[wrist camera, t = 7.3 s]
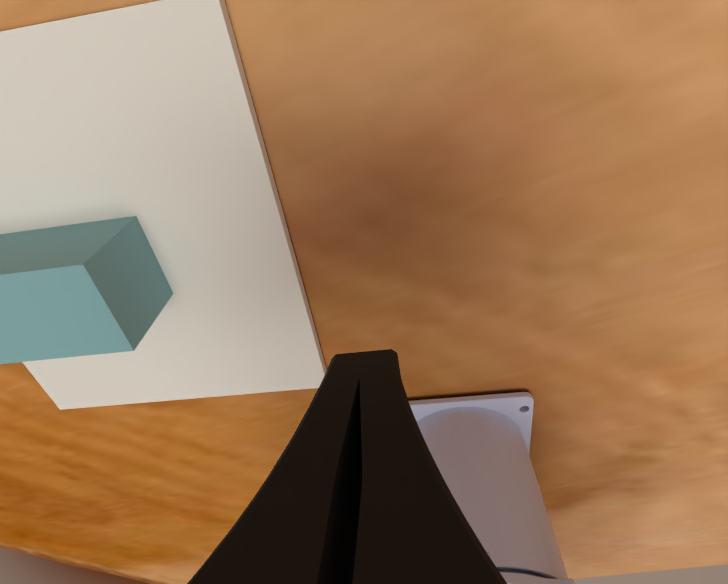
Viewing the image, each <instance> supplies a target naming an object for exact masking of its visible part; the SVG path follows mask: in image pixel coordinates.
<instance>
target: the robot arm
mask: <svg viewBox="0 0 728 584" xmlns="http://www.w3.org/2000/svg"><path fill="white" fill-rule="evenodd" d="M522 406H524V407H522ZM533 407H534V400H533V397H532V395H531V394H530V393H528V392H516V393H504V394H491V395H478V396H466V397H453V398H440V399H428V400H415V401H408V399H407V396H406V393H405V390H404V386H403V383H402V380H401V375H400V369H399V362H398V355H397V353H396V352H395V351H393V350H392V349H389V350H378V351H368V352H357V353H346V354H336V355H335V356H334V357H333V358H332V360H331V362H330V364H329V367H328V369H327V371H326V374H325V376H324V378H323V380H322V382H321V384H320V386H319V388H318V390H317V392H316V394H315V396H314V398H313V400H312V402H311V404H310V406H309V408H308V410H307V412H306V413H305V415H304V417H303V419H302V421H301V423H300V424H299V426H298V428H297V430H296V432H295V433H294V435H293V437H292V439H291V440H290V442H289V444H288V445H287V447H286V449H285V450H284V452H283V453H282V455H281V457H280V458H279V460H278V461H277V463H276V465H275V466H274V468H273V469H272V471H271V473H270V474H269V476H268V477H267V479H266V480H265V482H264V483H263V485H262V486H261V488H260V489H259V491H258V492H257V494H256V495H255V497H254V498H253V500H252V501H251V502H250V504H249V505H248V507H247V508H246V509H245V511H244V512H243V514H242V515H241V516H240V518H239V519H238V520H237V522H236V523H235V524H234V526H233V527H232V529H231V530H230V531H229V532H228V534H227V535H226V536H225V538H224V539H223V540H222V541H221V543H220V544H219V545H218V546H217V548H216V549H215V550H214V551H213V553H212V554H211V555H210V557H209V558H208V559H207V560H206V562H205V563H204V564H203V565H202V567H201V568H200V569H199V570H198V571H197V573H196V574H195V575H194V576H193V578H192V579H191V580H190V581H189V582H188V583H187V584H574V580H573V579H571V578H568V576H567V573H566V570H565V567H564V563H563V560H562V557H561V554H560V551H559V548H558V544H557V541H556V538H555V535H554V532H553V529H552V526H551V522H550V519H549V516H548V513H547V510H546V507H545V503H544V500H543V497H542V494H541V491H540V488H539V485H538V481H537V478H536V475H535V472H534V469H533V466H532V462H531V459H530V456H529V452H530V440H531V429H532V418H533Z"/></svg>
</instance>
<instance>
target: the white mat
mask: <svg viewBox="0 0 728 584" xmlns="http://www.w3.org/2000/svg"><path fill="white" fill-rule="evenodd" d="M131 216H137V218H138V221H139V223H140V225H141V227H142V229H143V231H144V233H145V235H146V237H147V239H148V241H149V243H150V246H151V248H152V250H153V252H154V254H155V256H156V258H157V260H158V262H159V264H160V266H161V268H162V271H163V273H164V275H165V277H166V279H167V281H168V283H169V285H170V287H171V289H172V291H173V295H172V296H171V298H170V299H169V301H168V302H167V304H166V305H165V307H164V308H163V309H162V311H161V312H160V314H159V315H158V317H157V318H156V320H155V321H154V323H153V324H152V325H151V327H150V328H149V330H148V331H147V333H146V334H145V336H144V337H143V339H142V340H141V341H140V343H139V344H138V346H137V347H136V349H135V350H134V351H127V352H117V353H107V354H97V355H87V356H77V357H67V358H56V359H46V360H36V361H26V362H23V364H24V365H25V366H26V367H27V369H28V370H29V371H30V372H31V374H32V375H33V376H34V377H35V379H36V380H37V381H38V382H39V384H40V385H41V386H42V387H43V389H44V390H45V391H46V393H47V394H48V395H49V396H50V398H51V399H52V400H53V401H54V403H55V404H56V405H57V406H58V408H59V409H60V410H62V409H74V408H86V407H97V406H109V405H121V404H133V403H145V402H157V401H168V400H180V399H192V398H204V397H216V396H228V395H240V394H251V393H263V392H275V391H287V390H299V389H311V388H319V386H320V384H321V382H322V380H323V378H324V376H325V374H326V371H327V369H326V366H325V362H324V358H323V355H322V351H321V348H320V344H319V340H318V337H317V333H316V329H315V326H314V322H313V319H312V315H311V311H310V308H309V304H308V301H307V297H306V293H305V290H304V286H303V282H302V279H301V275H300V272H299V268H298V264H297V261H296V257H295V254H294V250H293V246H292V243H291V239H290V235H289V232H288V228H287V225H286V221H285V217H284V214H283V210H282V206H281V203H280V199H279V196H278V192H277V188H276V185H275V181H274V178H273V174H272V170H271V167H270V163H269V159H268V156H267V152H266V149H265V145H264V141H263V138H262V134H261V130H260V127H259V123H258V120H257V116H256V112H255V109H254V105H253V102H252V98H251V94H250V91H249V87H248V83H247V80H246V76H245V73H244V69H243V65H242V62H241V58H240V54H239V51H238V47H237V44H236V40H235V36H234V33H233V29H232V26H231V22H230V18H229V15H228V11H227V7H226V4H225V0H160V1H155V2H150V3H145V4H140V5H135V6H129V7H124V8H119V9H114V10H109V11H104V12H99V13H94V14H88V15H83V16H78V17H73V18H68V19H63V20H58V21H52V22H47V23H42V24H37V25H32V26H27V27H22V28H17V29H11V30H6V31H1V32H0V234H6V233H14V232H21V231H28V230H36V229H43V228H50V227H58V226H65V225H72V224H80V223H87V222H94V221H102V220H109V219H116V218H124V217H131Z"/></svg>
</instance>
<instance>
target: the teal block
mask: <svg viewBox="0 0 728 584" xmlns="http://www.w3.org/2000/svg"><path fill="white" fill-rule="evenodd" d="M172 295H173V291H172V289H171V287H170V285H169V283H168V281H167V279H166V277H165V275H164V273H163V271H162V268H161V266H160V264H159V262H158V260H157V258H156V256H155V254H154V252H153V250H152V248H151V246H150V243H149V241H148V239H147V237H146V235H145V233H144V231H143V229H142V227H141V225H140V223H139V221H138V218H137V216H131V217H124V218H116V219H109V220H102V221H94V222H87V223H80V224H72V225H65V226H58V227H50V228H43V229H36V230H28V231H21V232H14V233H6V234H0V364H6V363H16V362H26V361H36V360H46V359H56V358H67V357H77V356H87V355H97V354H107V353H117V352H127V351H134V350H135V349H136V347H137V346H138V344H139V343H140V341H141V340H142V339H143V337H144V336H145V334H146V333H147V331H148V330H149V328H150V327H151V325H152V324H153V323H154V321H155V320H156V318H157V317H158V315H159V314H160V312H161V311H162V309H163V308H164V307H165V305H166V304H167V302H168V301H169V299H170V298H171V296H172Z"/></svg>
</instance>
